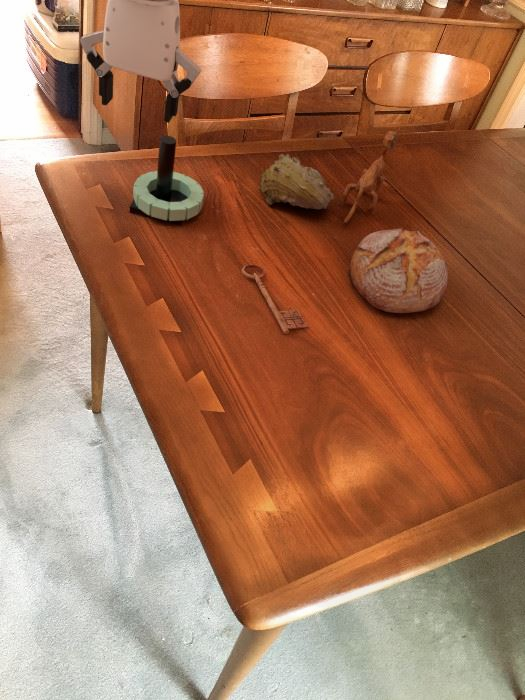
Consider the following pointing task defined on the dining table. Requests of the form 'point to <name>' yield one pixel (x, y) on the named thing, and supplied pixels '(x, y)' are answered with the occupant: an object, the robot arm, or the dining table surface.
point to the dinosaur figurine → (371, 177)
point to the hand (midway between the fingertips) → (138, 110)
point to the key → (276, 313)
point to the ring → (165, 208)
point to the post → (164, 178)
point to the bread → (399, 271)
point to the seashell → (294, 184)
